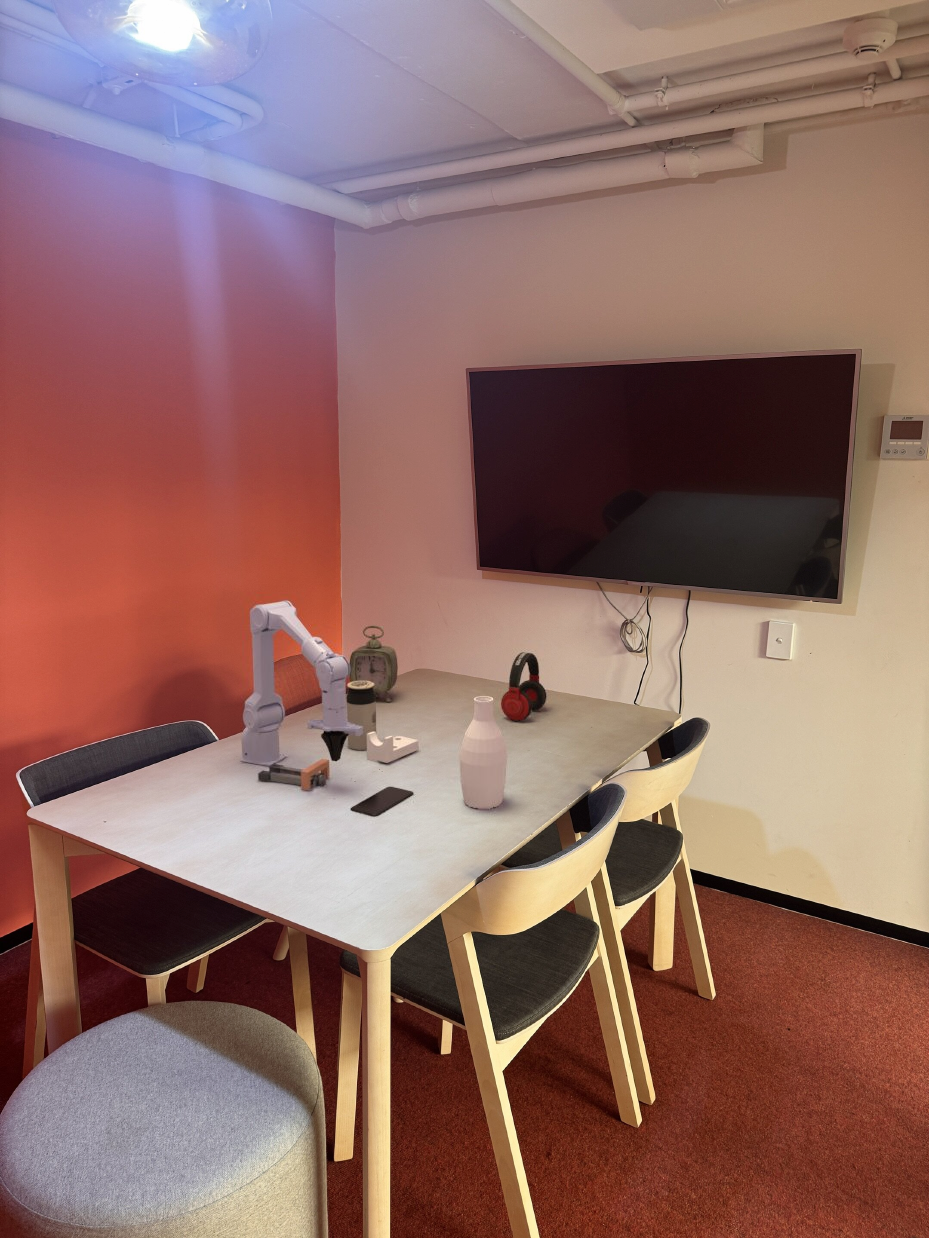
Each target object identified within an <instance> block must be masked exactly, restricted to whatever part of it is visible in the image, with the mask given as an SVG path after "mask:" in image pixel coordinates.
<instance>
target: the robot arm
mask: <svg viewBox="0 0 929 1238" xmlns="http://www.w3.org/2000/svg"><path fill="white" fill-rule="evenodd" d="M293 605H294V604H292V603H291V601H289V600H287V599H286V600H281V601H277V602H271V603H265V604H264V603H263V604H255V605H254V606H253V607H252V609H251V610H250V611H249V618H250V619H249V621H250V628H249V629H250V633H251V642H252V671H253V672H252V673H253V674H252V675H253V693H252V694H251V695H250V696H249V697H248V698H247V699H246V700H245V701H244V710H243V714H242V720H243V723H244V725H245V728H244V729H243V731H242V734H241V753H242V754H241V757H242V758H241V759H240V761H241V762H244V763H249V764H255V765H261V766H267V767H270V766H271V765H273V764H277V763H278V762H280V761H281V760H284V759H285V758H287V755H286V754H282V753H281V752H280V750H281V749H280V733H279V732H280V730H279V728H280V727H282V725H281V724H282V723H283V722H284V721H285V717H286V710H285V707H284V705H283V697H281V696H280V695H279V694H278V693H276V692H275V664H274V663H275V661H274V660H275V659H274V656H275V655H274V635H275V634H276V633H277V632H279V631H280V630H282V631H284V632H285V633H287V634H288V635H289V637H291V638H292V639H293V640H294V641H295V642H296V643H298V645H300V646H301V650H300V651H301V654H302V655H303V657H305V659H306V660H307V661H308V662H309V663H310V664H311V665H312V666H313V667H314V668H315V675H316V679H318V683H319V684H318V685H319V688H320V690H321V706H322V708H321V710H322V719H315V718H311V719H309V720H308V721H307V724H306V725H307V729H308V730H312V729H313V730H314V729H315V730H320V731H321V730H322V731H323V733H321V734H320V737H321V739H322V741H323V742H324V744H325V746H326V748H327V751H328V754H329V757H330V759H331V762H338V761H340V760H341V759H342V752H343V748H344V746H345V742H346V740H347V739H348V735H349V734H354V735H355V736H360V735H362V734H363V726H358V725H355V724H352V723H349V722H347V694H346V693H347V690H346V688H347V687H346V685H347V683H346V679H348V678H349V677H350V661H349V660H348V659H347V658H346V656H345V655H342V654H340V655H339V654H338V653H335V652H333V650H332V649H331V648H330V647H329V646H328V645H327V644H326V643H325V642H324V640H323V639H322V638H321V637H319V636H312V635H311V633H310V632H309V631H308V630H307V628H306V627H305V625H304V624H303V623H302V622H301V620H300V619H299V618H298V616H297V615H298V613H297V608H296V607H295V606H293Z"/></svg>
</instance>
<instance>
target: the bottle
mask: <svg viewBox="0 0 929 1238" xmlns="http://www.w3.org/2000/svg"><path fill="white" fill-rule="evenodd" d="M473 702H474V705H473V707H474V708H473V709H474V710H473V719H472V720H471V722H470V724H469V726H468V727H467V729H466V731H465V734H464V735H463V736H464V737H463V740H462V743H461V745H460V746H461V748H460V753H459V774H460V777H459V778H460V785H461V790H462V798H463V799H462V800H463V801H464V803H465V805H466V806H467V805H468V806H467V807H469V806H470V807H469V808H471V807H473V808H472V809H474V808H478V809H477V810H483V809H486V810H490V809H489V808H492V809H494V808H493V807H496V806H498V805H499V806H500V805H501V804H502V803H503V799H504V793H505V788H506V786H505V785H506V782H507V781H506V778H507V777H506V776H507V762H508V761H507V760H508V755H507V748H506V742H505V739H504V737H503V733H502V732H501V730H500V728H499V725H498V724H497V723H496V720H495V718H494V704H493V703H494V698H493V697H492V696H487V695H480V696H476V697H474V698H473ZM499 806H498V807H499ZM496 808H497V807H496Z"/></svg>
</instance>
